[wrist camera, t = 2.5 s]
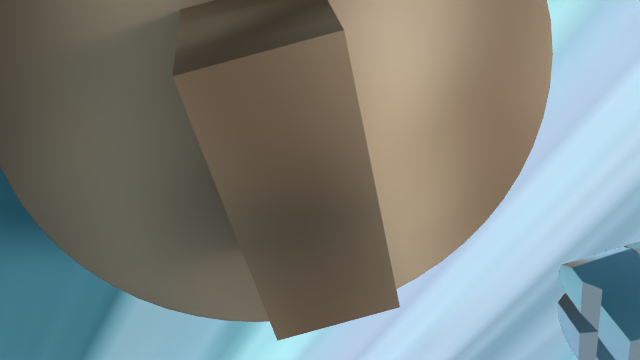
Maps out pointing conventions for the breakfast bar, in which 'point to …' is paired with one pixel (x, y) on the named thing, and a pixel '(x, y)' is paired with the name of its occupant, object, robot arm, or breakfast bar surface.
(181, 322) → the breakfast bar surface
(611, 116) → the breakfast bar surface
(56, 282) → the breakfast bar surface
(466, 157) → the walnut lid
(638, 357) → the robot arm
